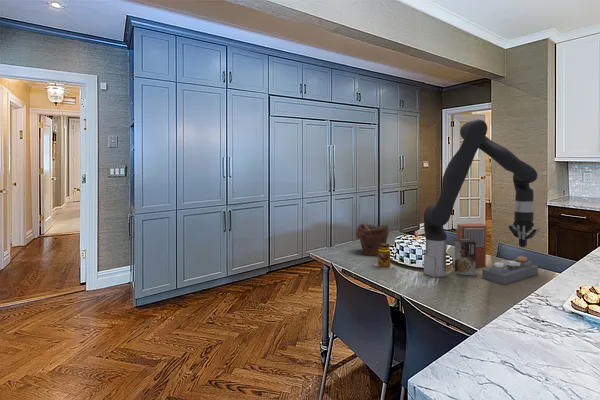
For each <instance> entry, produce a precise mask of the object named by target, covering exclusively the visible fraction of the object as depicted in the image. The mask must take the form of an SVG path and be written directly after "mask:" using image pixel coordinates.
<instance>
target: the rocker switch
mask: <svg viewBox="0 0 600 400" xmlns="http://www.w3.org/2000/svg"><path fill="white" fill-rule="evenodd" d="M500 263H503V264H505V265H509V266H520V263H519V262H515V261H513V260H501V262H500Z"/></svg>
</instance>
